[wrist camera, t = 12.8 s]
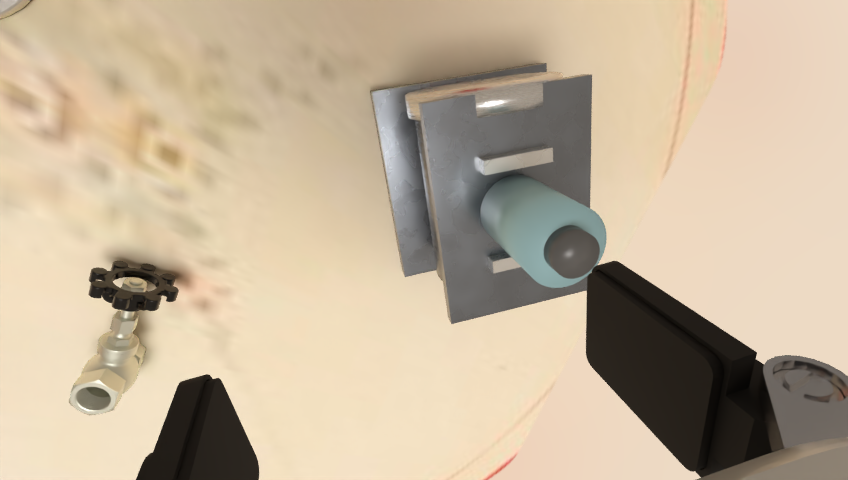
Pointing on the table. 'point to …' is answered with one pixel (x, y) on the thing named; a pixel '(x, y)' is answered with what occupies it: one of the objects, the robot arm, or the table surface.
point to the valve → (118, 335)
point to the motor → (479, 173)
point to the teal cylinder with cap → (543, 230)
